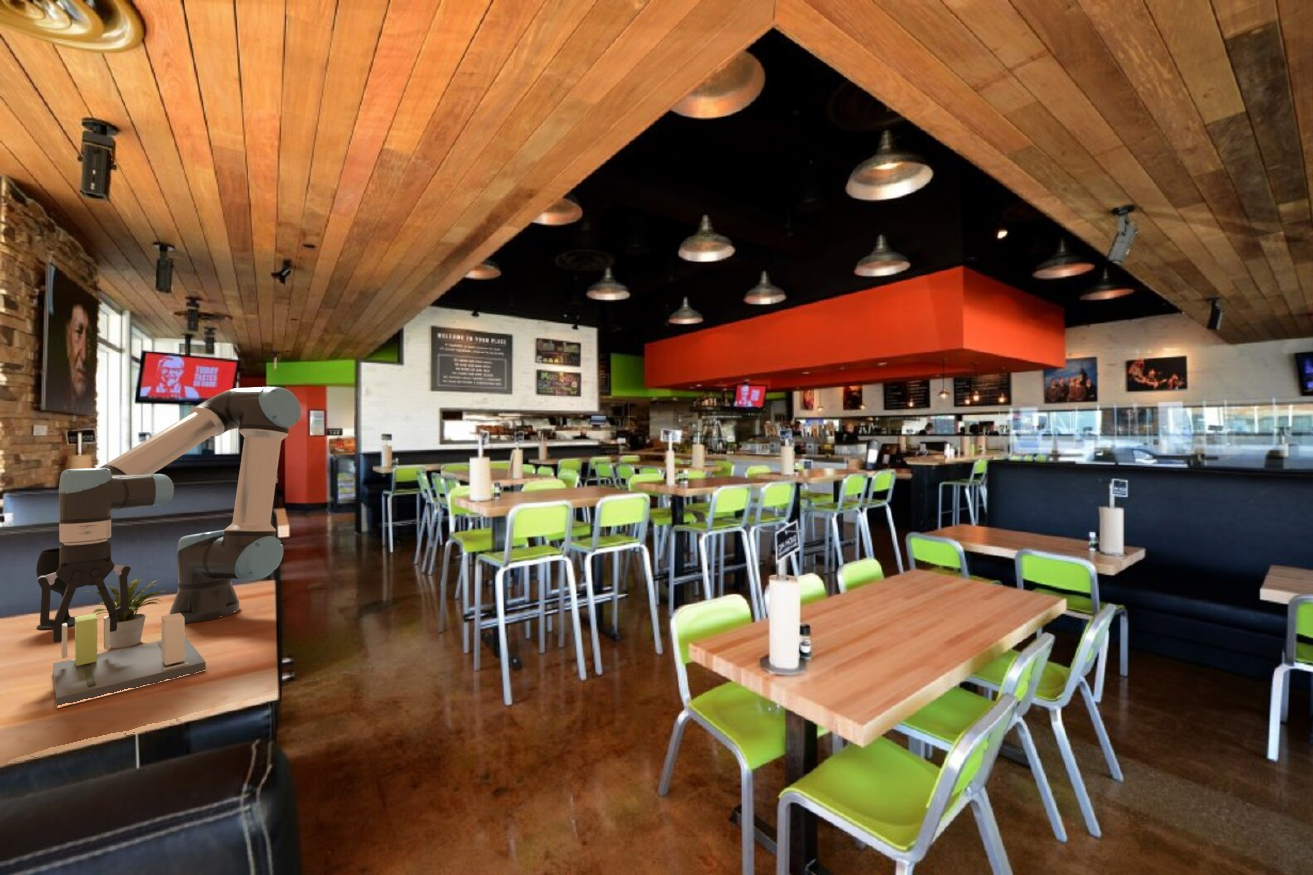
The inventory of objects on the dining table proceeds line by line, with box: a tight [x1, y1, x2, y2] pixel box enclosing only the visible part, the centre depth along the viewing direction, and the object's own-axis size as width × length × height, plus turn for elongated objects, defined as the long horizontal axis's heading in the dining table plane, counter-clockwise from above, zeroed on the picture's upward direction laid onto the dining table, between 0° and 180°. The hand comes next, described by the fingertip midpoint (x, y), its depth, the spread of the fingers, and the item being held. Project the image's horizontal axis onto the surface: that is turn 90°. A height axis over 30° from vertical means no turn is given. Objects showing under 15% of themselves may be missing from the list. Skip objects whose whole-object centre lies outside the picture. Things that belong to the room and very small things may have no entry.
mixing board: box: [52, 636, 207, 707], centre depth 114 cm, size 21×24×2 cm
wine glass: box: [35, 547, 79, 631], centre depth 146 cm, size 10×10×20 cm
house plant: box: [84, 576, 169, 649], centre depth 129 cm, size 14×14×16 cm
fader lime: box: [74, 613, 98, 666], centre depth 114 cm, size 3×5×9 cm, turn 49°
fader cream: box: [161, 613, 186, 665], centre depth 114 cm, size 3×5×9 cm, turn 49°
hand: (86, 651), depth 114 cm, fingers open, 5 cm apart
